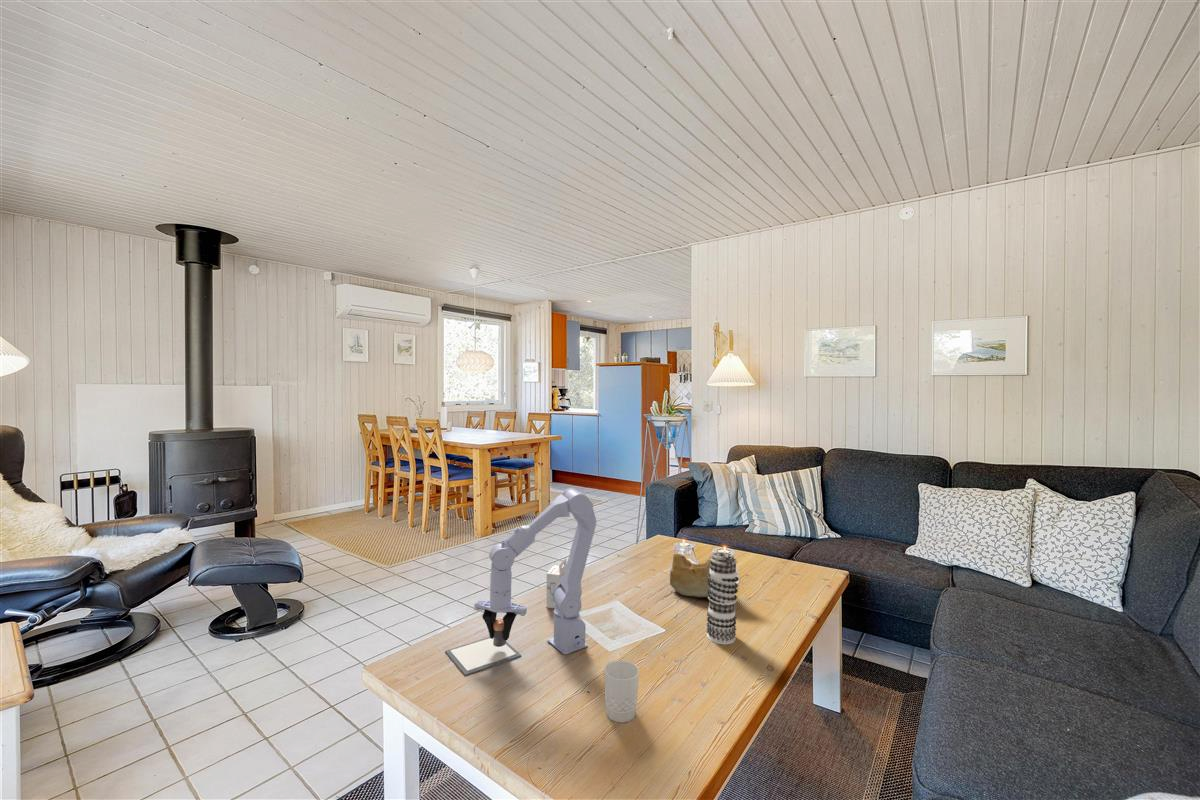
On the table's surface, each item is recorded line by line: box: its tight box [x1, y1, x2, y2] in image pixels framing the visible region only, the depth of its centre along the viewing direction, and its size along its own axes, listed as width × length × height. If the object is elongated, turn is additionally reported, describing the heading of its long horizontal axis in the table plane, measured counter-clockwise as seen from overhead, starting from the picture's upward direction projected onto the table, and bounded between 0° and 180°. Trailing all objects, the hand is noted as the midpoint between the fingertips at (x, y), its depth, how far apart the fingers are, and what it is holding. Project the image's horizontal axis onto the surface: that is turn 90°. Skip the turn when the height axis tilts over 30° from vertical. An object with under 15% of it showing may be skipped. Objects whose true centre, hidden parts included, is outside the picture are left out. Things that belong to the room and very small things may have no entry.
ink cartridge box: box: [546, 557, 567, 609], centre depth 169 cm, size 9×5×15 cm, turn 168°
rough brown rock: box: [669, 553, 710, 598], centre depth 180 cm, size 23×17×15 cm
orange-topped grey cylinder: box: [493, 618, 507, 647], centre depth 136 cm, size 4×4×6 cm
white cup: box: [603, 659, 640, 723], centre depth 112 cm, size 8×8×10 cm
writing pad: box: [444, 636, 522, 677], centre depth 135 cm, size 14×16×1 cm
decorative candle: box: [706, 551, 739, 645], centre depth 148 cm, size 9×9×25 cm
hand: (499, 637), depth 136 cm, fingers closed on orange-topped grey cylinder, 3 cm apart
